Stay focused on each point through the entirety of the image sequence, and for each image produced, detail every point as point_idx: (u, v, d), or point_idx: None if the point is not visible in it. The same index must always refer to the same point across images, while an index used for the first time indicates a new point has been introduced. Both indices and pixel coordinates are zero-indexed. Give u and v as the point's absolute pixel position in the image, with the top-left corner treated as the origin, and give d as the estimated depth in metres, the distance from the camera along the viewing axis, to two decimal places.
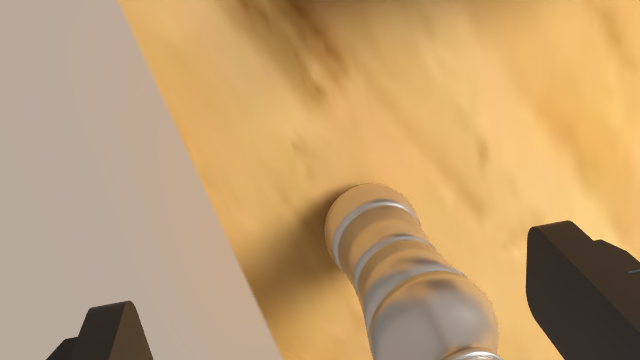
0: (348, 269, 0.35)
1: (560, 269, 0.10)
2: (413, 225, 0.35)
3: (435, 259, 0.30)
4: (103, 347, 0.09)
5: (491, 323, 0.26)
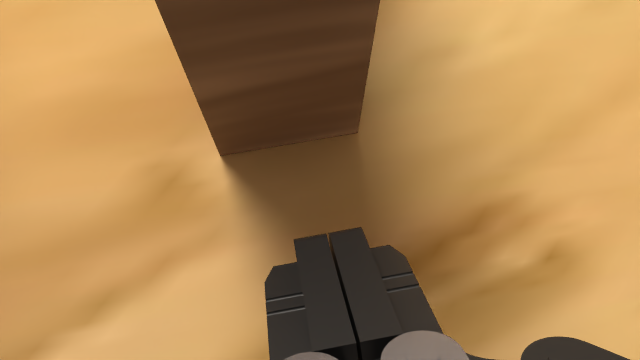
0: None
1: (338, 272, 0.11)
2: None
3: None
4: (326, 267, 0.11)
5: None
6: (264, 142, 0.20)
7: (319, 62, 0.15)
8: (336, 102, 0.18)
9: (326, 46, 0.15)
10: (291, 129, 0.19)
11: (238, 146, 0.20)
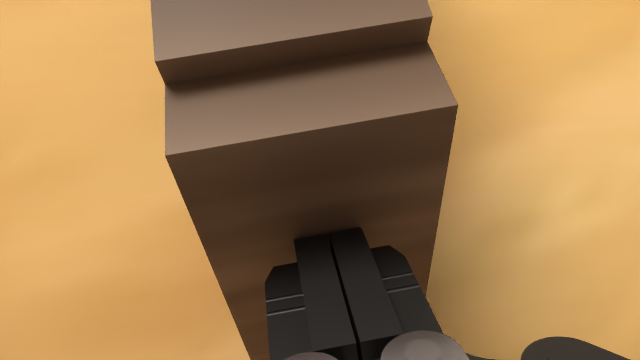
0: None
1: (338, 273, 0.11)
2: None
3: None
4: (326, 266, 0.11)
5: None
6: None
7: (373, 241, 0.12)
8: None
9: (382, 222, 0.12)
10: None
11: None
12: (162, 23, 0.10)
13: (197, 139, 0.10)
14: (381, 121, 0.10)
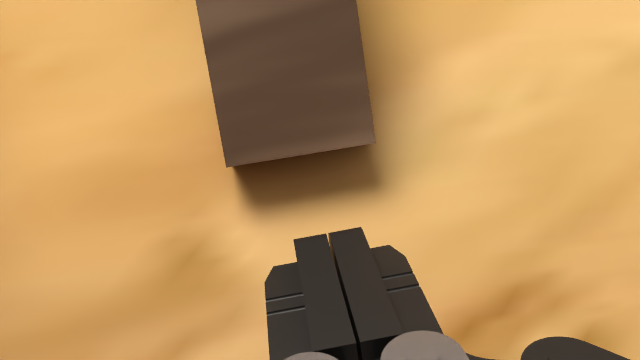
0: None
1: (338, 272, 0.11)
2: None
3: None
4: (326, 267, 0.11)
5: None
6: (273, 143, 0.18)
7: None
8: (337, 66, 0.18)
9: None
10: (299, 118, 0.18)
11: (246, 147, 0.18)
12: None
13: None
14: None
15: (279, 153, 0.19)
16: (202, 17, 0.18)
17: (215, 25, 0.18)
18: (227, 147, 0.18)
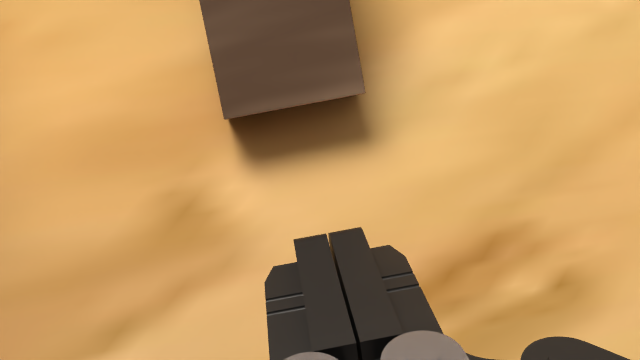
0: None
1: (338, 273, 0.11)
2: None
3: None
4: (326, 267, 0.11)
5: None
6: (267, 95, 0.19)
7: None
8: (326, 20, 0.19)
9: None
10: (292, 70, 0.19)
11: (242, 100, 0.19)
12: None
13: None
14: None
15: (274, 105, 0.20)
16: None
17: None
18: (224, 100, 0.19)
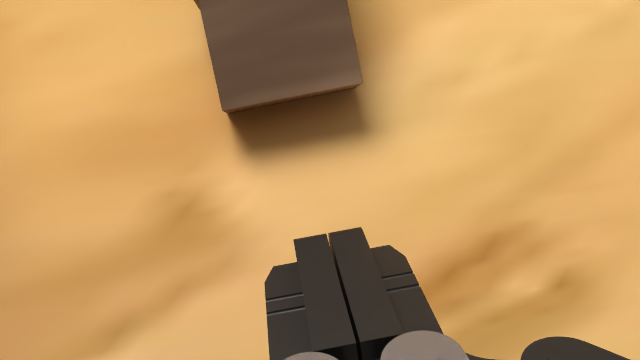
0: None
1: (338, 273, 0.11)
2: None
3: None
4: (326, 267, 0.11)
5: None
6: (265, 86, 0.20)
7: None
8: (323, 11, 0.20)
9: None
10: (289, 61, 0.20)
11: (240, 91, 0.20)
12: None
13: None
14: None
15: (272, 95, 0.20)
16: None
17: None
18: (222, 91, 0.20)
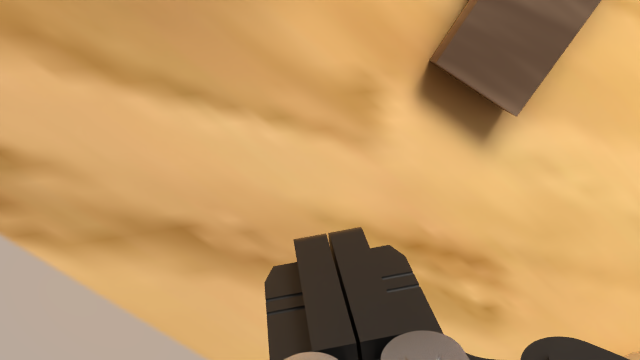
0: None
1: (338, 273, 0.11)
2: None
3: None
4: (326, 266, 0.11)
5: None
6: (469, 71, 0.28)
7: (558, 10, 0.27)
8: (535, 61, 0.28)
9: None
10: (493, 70, 0.28)
11: (454, 62, 0.28)
12: None
13: None
14: None
15: (467, 79, 0.28)
16: None
17: None
18: (445, 53, 0.28)
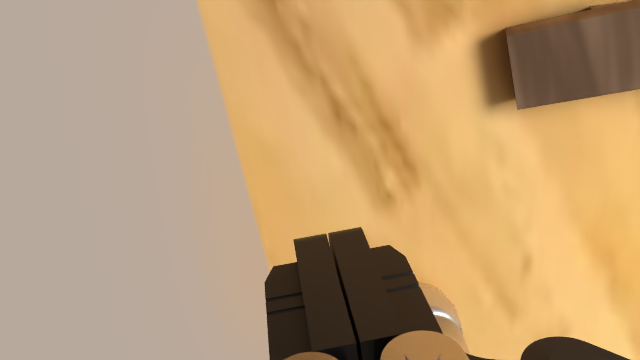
0: None
1: (338, 273, 0.11)
2: (460, 343, 0.38)
3: None
4: (326, 267, 0.11)
5: None
6: (519, 59, 0.35)
7: (602, 73, 0.35)
8: (559, 89, 0.36)
9: (615, 73, 0.34)
10: (532, 71, 0.36)
11: (517, 45, 0.35)
12: None
13: None
14: None
15: (513, 62, 0.36)
16: (591, 19, 0.33)
17: (586, 26, 0.34)
18: (517, 36, 0.35)
